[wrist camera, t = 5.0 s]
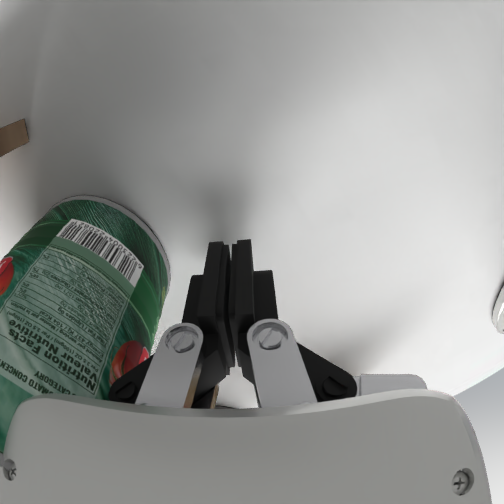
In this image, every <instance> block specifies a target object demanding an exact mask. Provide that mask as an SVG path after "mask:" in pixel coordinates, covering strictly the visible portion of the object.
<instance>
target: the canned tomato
mask: <svg viewBox="0 0 504 504" xmlns="http://www.w3.org/2000/svg"><path fill="white" fill-rule="evenodd" d="M169 285H170V267H169V263H168V260H167V257H166V254H165V252H164V250H163V248H162V246H161V244H160V242H159V241H158V239H157V238H156V236H155V235H154V234H153V233H152V231H151V230H150V229H149V227H148V226H147V225H146V224H145V223H143V222H142V221H141V220H140V219H139V218H138V217H137V216H136V215H135V214H133V213H132V212H130V211H129V210H127V209H126V208H124V207H122V206H121V205H119V204H116V203H114V202H112V201H110V200H107V199H104V198H99V197H95V196H74V197H70V198H66V199H64V200H62V201H61V202H59V203H57V204H55V205H54V206H53V207H52V208H51V209H50V210H49V211H48V212H47V213H46V215H45V216H44V217H43V218H42V219H41V220H39V221H38V222H37V223H36V224H35V225H34V226H33V227H32V228H31V229H30V230H29V231H28V232H27V233H26V234H25V235H24V236H23V237H22V238H21V240H20V241H19V242H18V243H17V244H15V245H14V247H13V248H12V249H11V250H10V252H9V253H8V254H7V255H5V256H4V258H3V259H2V260H1V262H0V467H2V466H3V467H4V469H5V470H7V471H9V470H10V468H11V466H12V465H13V464H14V462H11V461H6V462H4V455H3V452H4V447H5V442H6V437H7V433H8V430H9V427H10V424H11V421H12V418H13V415H14V413H15V411H16V409H17V407H18V405H19V404H20V403H21V402H22V401H24V400H25V399H27V398H30V397H32V396H37V395H41V394H51V393H57V394H68V395H75V396H82V397H87V398H93V399H100V400H107V401H110V400H109V391H110V387H111V386H112V384H113V383H114V382H115V381H116V380H117V379H118V378H120V377H121V376H122V375H124V374H125V373H127V372H128V371H130V370H131V369H133V368H134V367H136V366H137V365H139V364H140V363H141V362H143V361H144V360H146V359H147V358H149V357H150V353H151V349H152V346H153V344H154V337H155V334H156V331H157V328H158V322H159V319H160V317H161V313H162V308H163V304H164V301H165V298H166V296H167V294H168V291H169ZM11 471H13V470H11ZM13 472H14V471H13ZM15 475H16V474H15Z"/></svg>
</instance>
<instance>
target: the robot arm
mask: <svg viewBox="0 0 504 504" xmlns="http://www.w3.org/2000/svg"><path fill="white" fill-rule="evenodd" d="M492 320H493V324H494V326H495V328H496V329H497V331H498V332H499V333H500V334H504V286H503V288H502V289H501V292H500V294H499V296H498V298H497V301H496V304H495V307H494V310H493V317H492ZM235 352H236V357H237V362H238V366H239V367H241V368H242V373H243V377H245V378H246V379H247V380H249V381H250V382H251V383H252V384H254V389H255V394H256V399H257V403H258V408H247V409H214V408H215V404H216V399H217V395H218V390H219V382H220V381H222V380H223V379H224V378H225V377H226V375H230V367H235ZM109 400H110V401H107V400H100V399H93V398H87V397H82V396H75V395H68V394H57V393H51V394H41V395H37V396H32V397H30V398H27V399H25V400H24V401H22V402H21V403H20V404H19V405H18V407H17V409H16V411H15V413H14V415H13V418H12V421H11V424H10V427H9V430H8V433H7V437H6V442H5V447H4V452H3V455H4V462H6V461H11V462H14V464H13V465H12V466H11V468H10V470H9V471H7V470H5V469H4V467H3V466H2V467H0V504H492V501H491V494H490V489H489V483H488V478H487V473H486V468H485V464H484V460H483V456H482V452H481V449H480V446H479V443H478V440H477V437H476V434H475V431H474V429H473V427H472V424H471V422H470V420H469V418H468V416H467V414H466V412H465V410H464V409H463V407H462V406H461V404H460V403H459V402H458V401H457V400H456V399H455V398H454V397H452V396H451V395H449V394H446V393H443V392H439V391H435V390H428V389H427V386H426V383H425V382H424V381H423V379H422V378H420V377H419V376H417V375H412V374H361V376H351V375H350V374H349V373H348V372H346V371H344V370H343V369H341V368H339V367H337V366H336V365H334V364H332V363H331V362H329V361H327V360H325V359H324V358H322V357H320V356H319V355H317V354H315V353H314V352H312V351H310V350H309V349H307V348H305V347H304V346H302V345H300V344H299V343H297V342H296V340H295V337H294V334H293V332H292V330H291V328H290V326H289V325H287V324H286V323H285V322H283V321H281V320H278V314H277V305H276V297H275V289H274V281H273V273H272V270H266V271H254V270H253V258H252V247H251V239H248V240H237V244H232V255H231V258H230V251H229V245H224V243H223V241H221V242H210V243H209V246H208V251H207V257H206V262H205V268H204V274H203V275H193V276H192V277H191V280H190V285H189V290H188V294H187V299H186V304H185V309H184V314H183V319H182V323H179V324H175V325H173V326H171V327H170V328H168V329H167V330H166V331H165V332H164V334H163V335H162V337H161V340H160V342H159V344H158V347H157V349H156V352H155V353H154V354H153V355H152V356H150V357H149V358H147V359H146V360H144V361H143V362H141V363H140V364H139V365H137V366H136V367H134V368H133V369H131V370H130V371H128V372H127V373H125V374H124V375H122V376H121V377H120V378H118V379H117V380H116V381H115V382H114V383H113V384H112V386H111V387H110V391H109ZM11 470H13V471H14V472H13V471H11ZM15 474H16V475H15Z"/></svg>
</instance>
